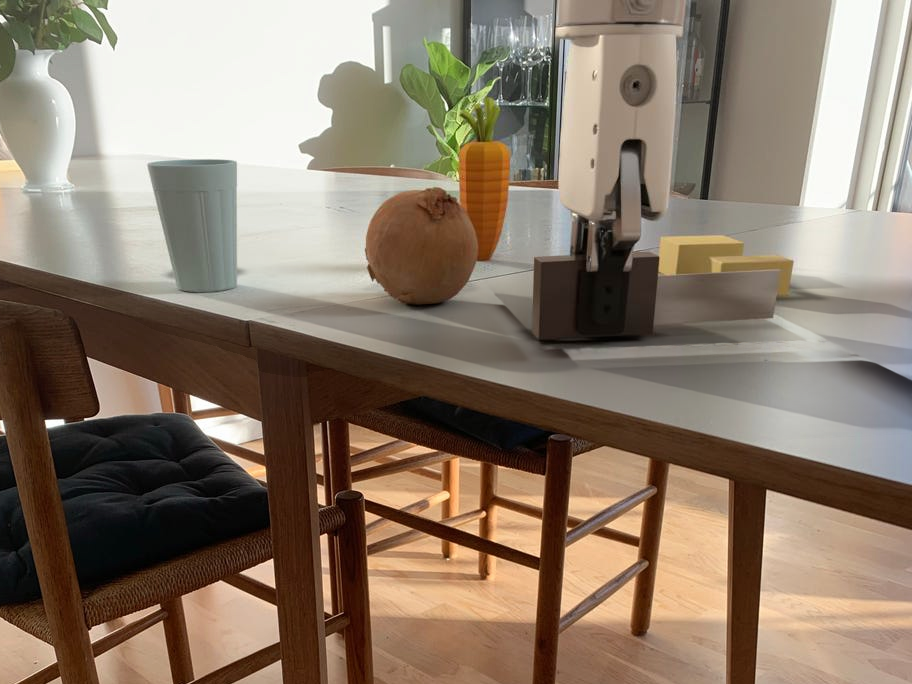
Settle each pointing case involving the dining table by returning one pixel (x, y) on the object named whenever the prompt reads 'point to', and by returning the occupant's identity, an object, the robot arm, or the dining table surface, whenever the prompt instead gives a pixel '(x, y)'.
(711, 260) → the butter slice
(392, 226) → the onion
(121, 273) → the dining table surface
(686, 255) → the butter block
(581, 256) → the knife
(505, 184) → the carrot
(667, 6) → the robot arm
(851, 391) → the dining table surface
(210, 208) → the cup
